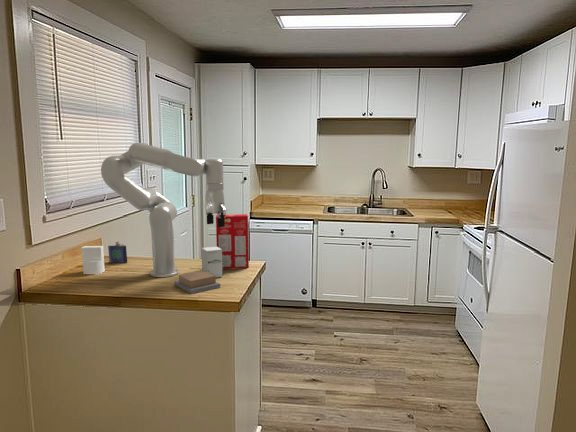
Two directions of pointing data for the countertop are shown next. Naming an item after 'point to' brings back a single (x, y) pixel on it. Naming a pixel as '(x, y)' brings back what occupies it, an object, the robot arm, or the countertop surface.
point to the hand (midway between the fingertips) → (215, 225)
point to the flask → (117, 253)
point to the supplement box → (212, 260)
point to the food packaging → (233, 241)
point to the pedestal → (197, 282)
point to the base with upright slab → (93, 259)
